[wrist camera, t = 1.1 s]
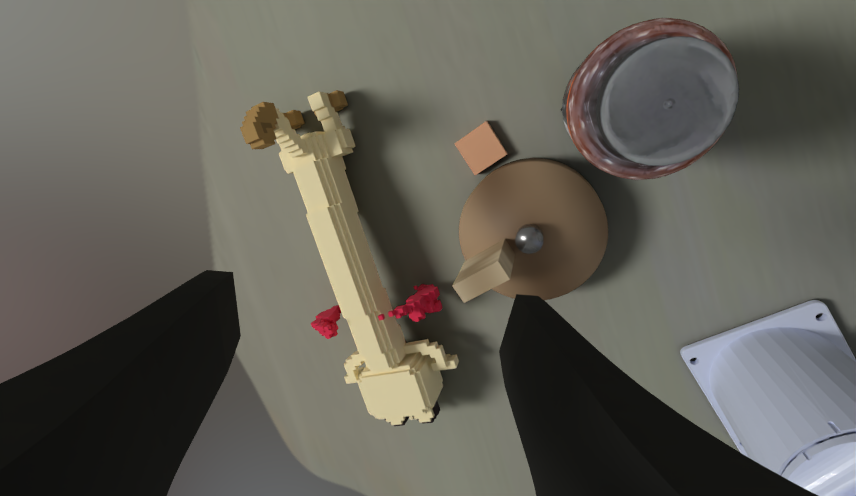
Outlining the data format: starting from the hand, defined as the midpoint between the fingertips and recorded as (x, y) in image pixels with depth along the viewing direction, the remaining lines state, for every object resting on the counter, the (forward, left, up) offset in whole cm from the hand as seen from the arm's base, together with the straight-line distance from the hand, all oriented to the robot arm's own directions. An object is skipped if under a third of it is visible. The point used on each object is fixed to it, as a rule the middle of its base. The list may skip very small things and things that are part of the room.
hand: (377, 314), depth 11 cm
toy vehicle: (-1, +10, -18) cm, 21 cm away
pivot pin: (-4, -2, -15) cm, 16 cm away
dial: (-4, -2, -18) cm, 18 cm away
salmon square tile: (+2, -2, -18) cm, 18 cm away
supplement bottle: (0, -9, -18) cm, 20 cm away
